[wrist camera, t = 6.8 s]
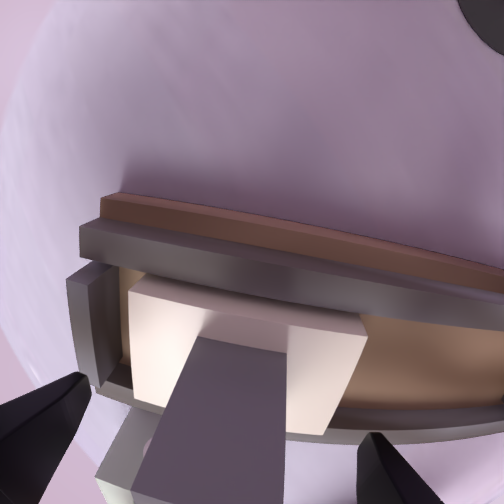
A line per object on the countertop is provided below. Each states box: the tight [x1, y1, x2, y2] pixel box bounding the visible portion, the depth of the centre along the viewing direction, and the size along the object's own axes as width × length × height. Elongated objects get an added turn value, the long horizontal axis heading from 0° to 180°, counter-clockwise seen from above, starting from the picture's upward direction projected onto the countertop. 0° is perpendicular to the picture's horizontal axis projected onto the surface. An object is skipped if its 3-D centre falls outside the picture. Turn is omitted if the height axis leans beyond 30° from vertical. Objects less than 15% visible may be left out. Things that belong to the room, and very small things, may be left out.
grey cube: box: [95, 406, 162, 504], centre depth 15 cm, size 6×7×6 cm
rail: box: [66, 192, 504, 445], centre depth 12 cm, size 10×24×4 cm, turn 80°
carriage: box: [128, 273, 368, 504], centre depth 9 cm, size 5×8×8 cm, turn 80°
